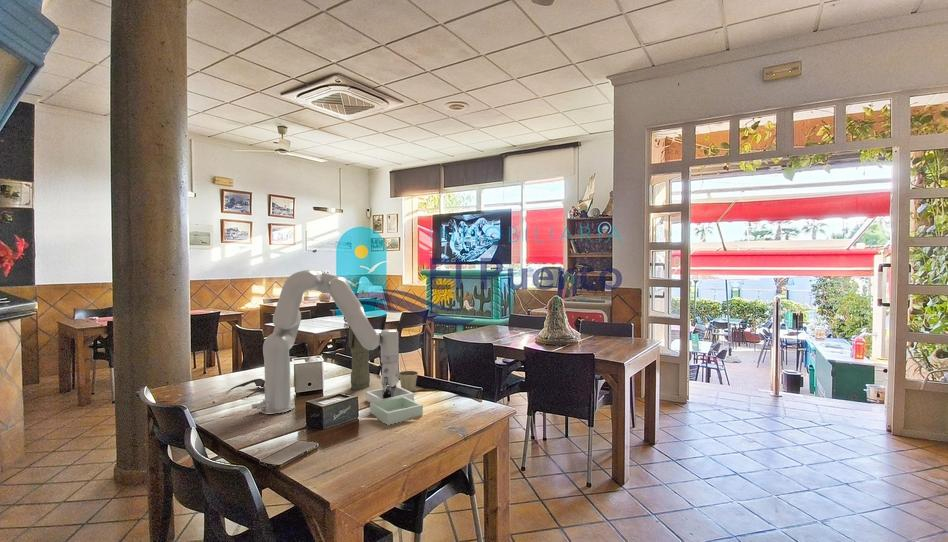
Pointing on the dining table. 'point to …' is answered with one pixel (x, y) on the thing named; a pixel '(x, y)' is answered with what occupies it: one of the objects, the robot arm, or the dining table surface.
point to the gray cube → (392, 392)
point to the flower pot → (408, 380)
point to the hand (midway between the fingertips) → (389, 399)
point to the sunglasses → (257, 381)
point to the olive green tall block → (359, 363)
